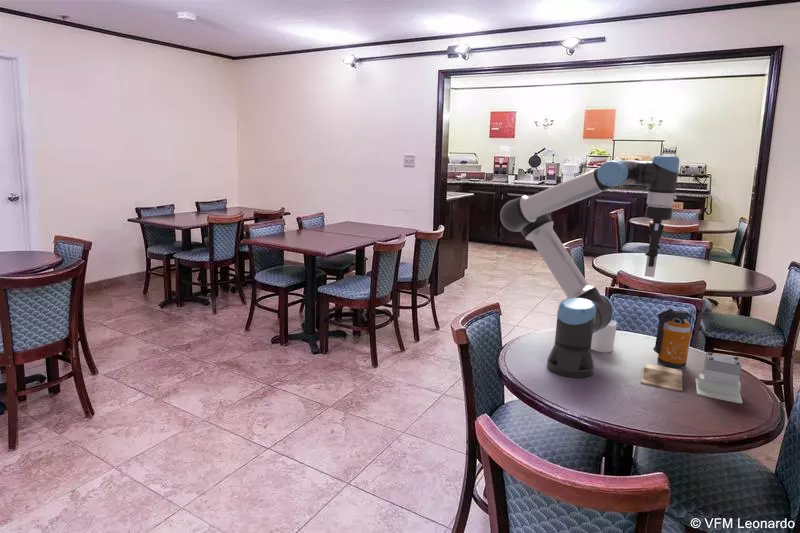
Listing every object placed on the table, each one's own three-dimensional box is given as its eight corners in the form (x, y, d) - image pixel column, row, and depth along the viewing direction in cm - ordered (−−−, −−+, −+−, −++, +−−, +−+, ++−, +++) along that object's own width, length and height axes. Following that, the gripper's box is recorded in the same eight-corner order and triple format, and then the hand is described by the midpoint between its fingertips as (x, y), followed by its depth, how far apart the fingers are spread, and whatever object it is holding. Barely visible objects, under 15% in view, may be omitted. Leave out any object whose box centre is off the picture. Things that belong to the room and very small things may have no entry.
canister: (688, 371, 183) (698, 315, 179) (654, 367, 185) (662, 312, 181) (681, 361, 192) (690, 307, 187) (648, 358, 194) (656, 304, 189)
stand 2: (696, 394, 166) (699, 382, 165) (695, 380, 176) (697, 368, 176) (742, 403, 161) (744, 391, 160) (737, 388, 171) (739, 376, 171)
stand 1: (640, 383, 173) (642, 371, 172) (642, 369, 183) (643, 358, 182) (682, 391, 168) (684, 379, 167) (681, 377, 178) (683, 366, 177)
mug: (622, 348, 203) (625, 321, 200) (605, 355, 195) (608, 326, 193) (601, 341, 209) (604, 314, 207) (584, 347, 202) (587, 320, 199)
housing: (703, 380, 167) (707, 357, 165) (702, 372, 173) (706, 351, 171) (737, 386, 163) (741, 364, 161) (735, 378, 169) (739, 356, 167)
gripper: (673, 210, 155) (662, 282, 160) (672, 203, 177) (663, 266, 182) (645, 208, 159) (635, 278, 163) (647, 201, 180) (638, 263, 185)
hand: (649, 272), depth 173 cm, fingers open, 13 cm apart
